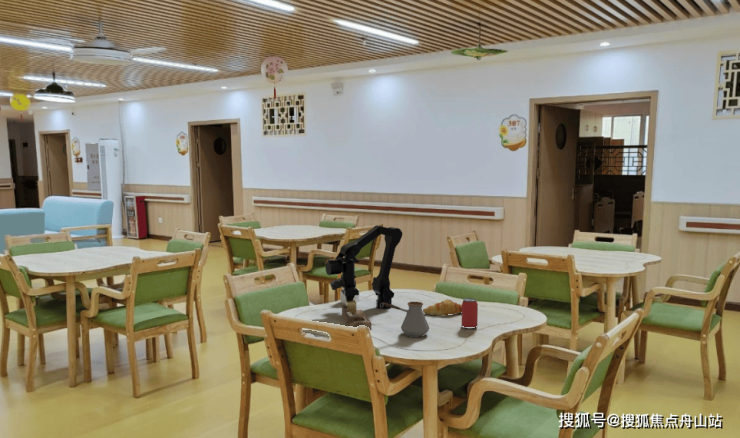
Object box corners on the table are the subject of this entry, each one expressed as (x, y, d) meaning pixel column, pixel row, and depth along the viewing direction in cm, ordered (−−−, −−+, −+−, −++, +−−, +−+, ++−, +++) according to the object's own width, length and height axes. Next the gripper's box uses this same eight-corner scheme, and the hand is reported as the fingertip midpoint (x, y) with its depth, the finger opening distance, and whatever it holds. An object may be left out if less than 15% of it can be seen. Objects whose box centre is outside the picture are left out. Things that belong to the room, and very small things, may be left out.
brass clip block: (354, 310, 252) (354, 299, 251) (356, 313, 248) (356, 302, 248) (345, 311, 251) (345, 300, 251) (347, 313, 247) (347, 302, 247)
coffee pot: (420, 328, 235) (420, 293, 233) (434, 336, 225) (435, 299, 223) (374, 335, 226) (374, 299, 224) (387, 344, 216) (387, 305, 214)
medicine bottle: (359, 302, 278) (359, 279, 276) (353, 306, 271) (353, 282, 270) (346, 301, 281) (346, 277, 279) (340, 304, 274) (340, 280, 273)
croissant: (424, 323, 254) (426, 310, 250) (419, 308, 263) (421, 295, 258) (469, 320, 258) (472, 307, 253) (463, 305, 266) (465, 292, 262)
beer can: (467, 330, 232) (468, 302, 231) (458, 326, 238) (458, 298, 237) (480, 328, 235) (481, 300, 234) (470, 324, 241) (471, 297, 240)
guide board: (361, 316, 254) (361, 303, 253) (371, 329, 234) (371, 315, 234) (341, 317, 252) (341, 305, 251) (350, 330, 233) (350, 317, 232)
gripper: (327, 269, 261) (328, 302, 263) (334, 277, 243) (334, 313, 245) (351, 268, 263) (351, 301, 265) (359, 276, 245) (359, 311, 247)
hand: (348, 306), depth 255 cm, fingers closed
